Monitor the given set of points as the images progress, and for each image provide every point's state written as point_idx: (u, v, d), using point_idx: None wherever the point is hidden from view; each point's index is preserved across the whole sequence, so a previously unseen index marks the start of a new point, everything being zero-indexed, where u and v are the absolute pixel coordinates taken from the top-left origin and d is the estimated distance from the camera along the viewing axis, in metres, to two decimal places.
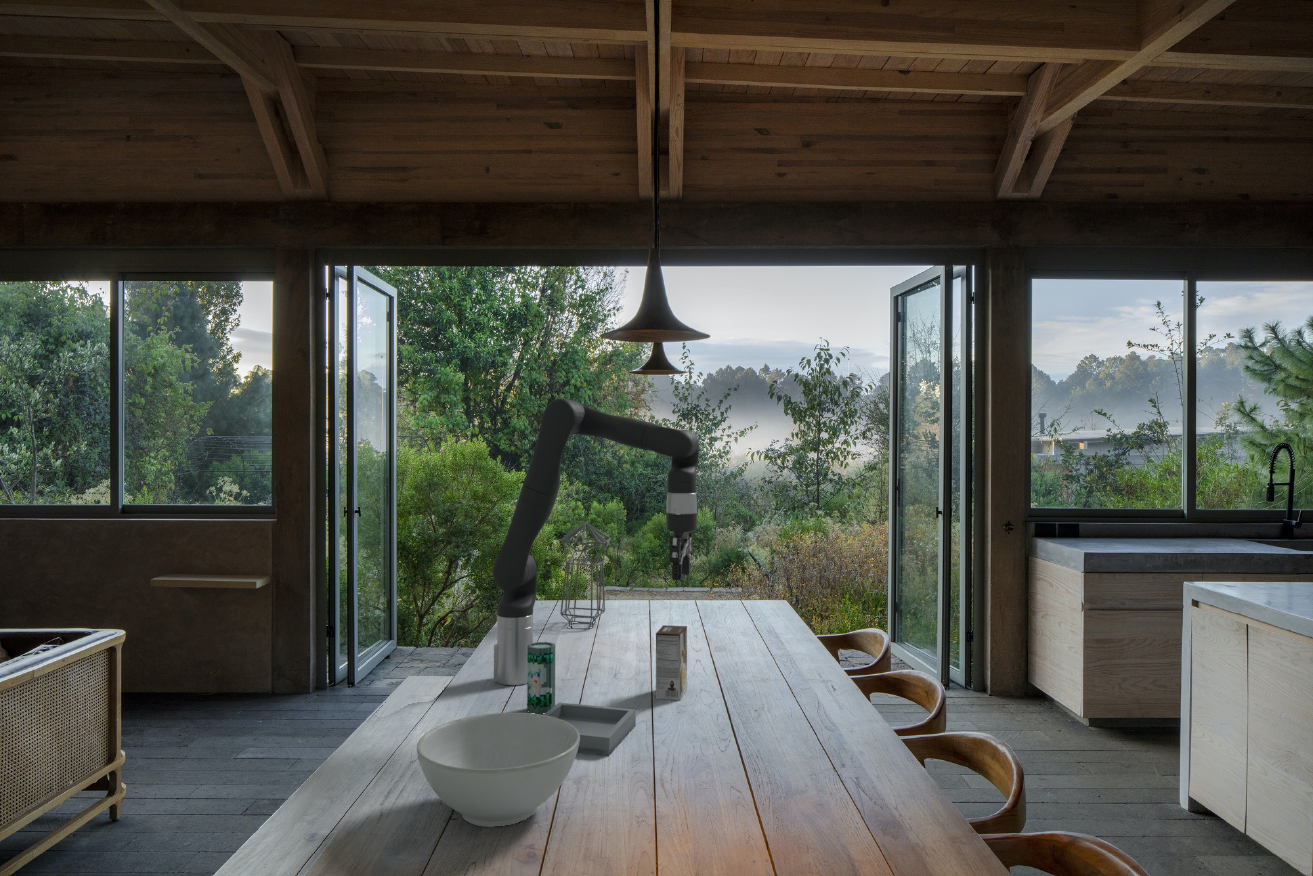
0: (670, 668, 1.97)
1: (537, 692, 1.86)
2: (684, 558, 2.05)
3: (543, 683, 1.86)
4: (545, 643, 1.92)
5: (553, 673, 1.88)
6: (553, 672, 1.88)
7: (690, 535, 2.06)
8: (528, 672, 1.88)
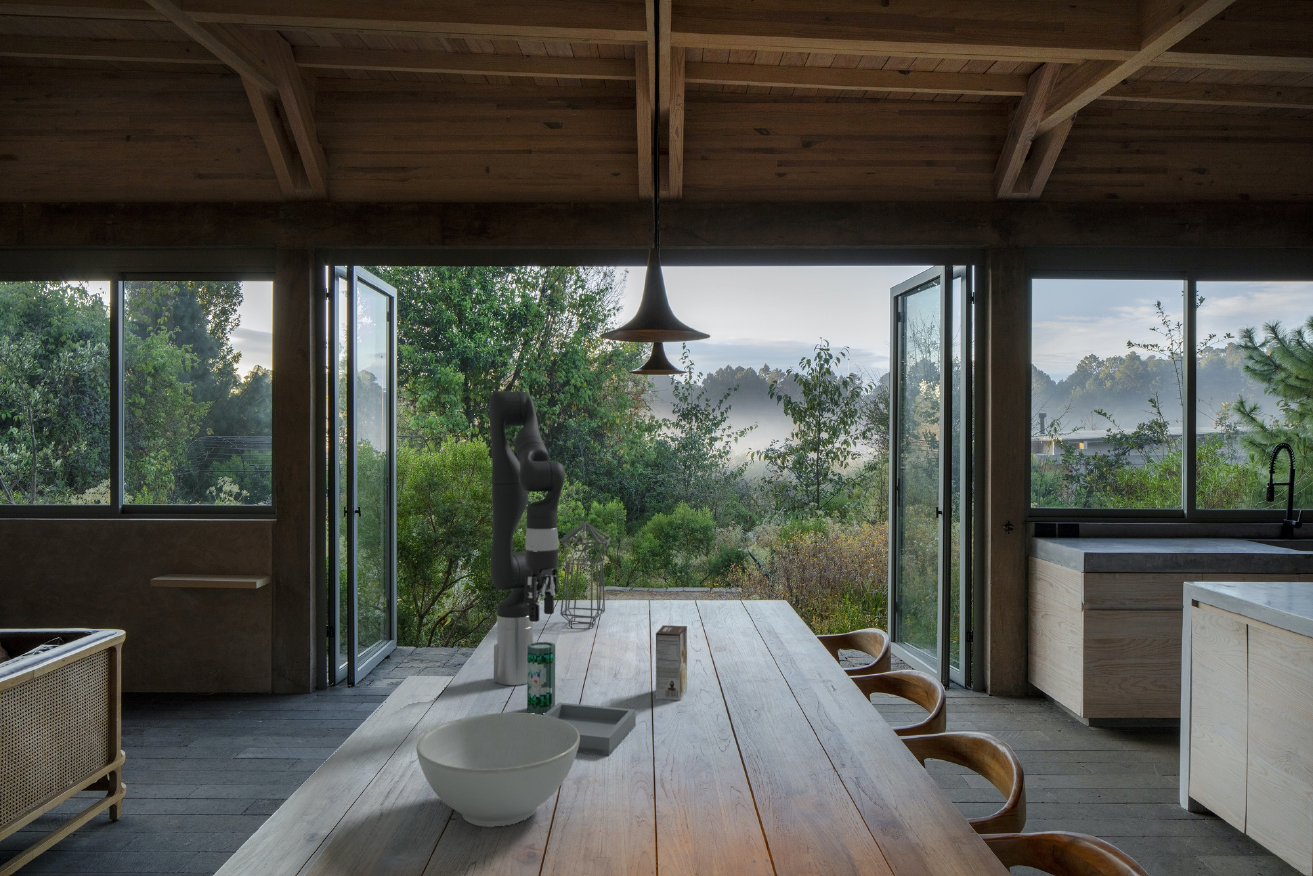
0: (670, 668, 1.97)
1: (537, 692, 1.86)
2: (548, 596, 1.93)
3: (543, 683, 1.86)
4: (545, 643, 1.92)
5: (553, 673, 1.88)
6: (553, 672, 1.88)
7: (555, 572, 1.95)
8: (528, 672, 1.88)
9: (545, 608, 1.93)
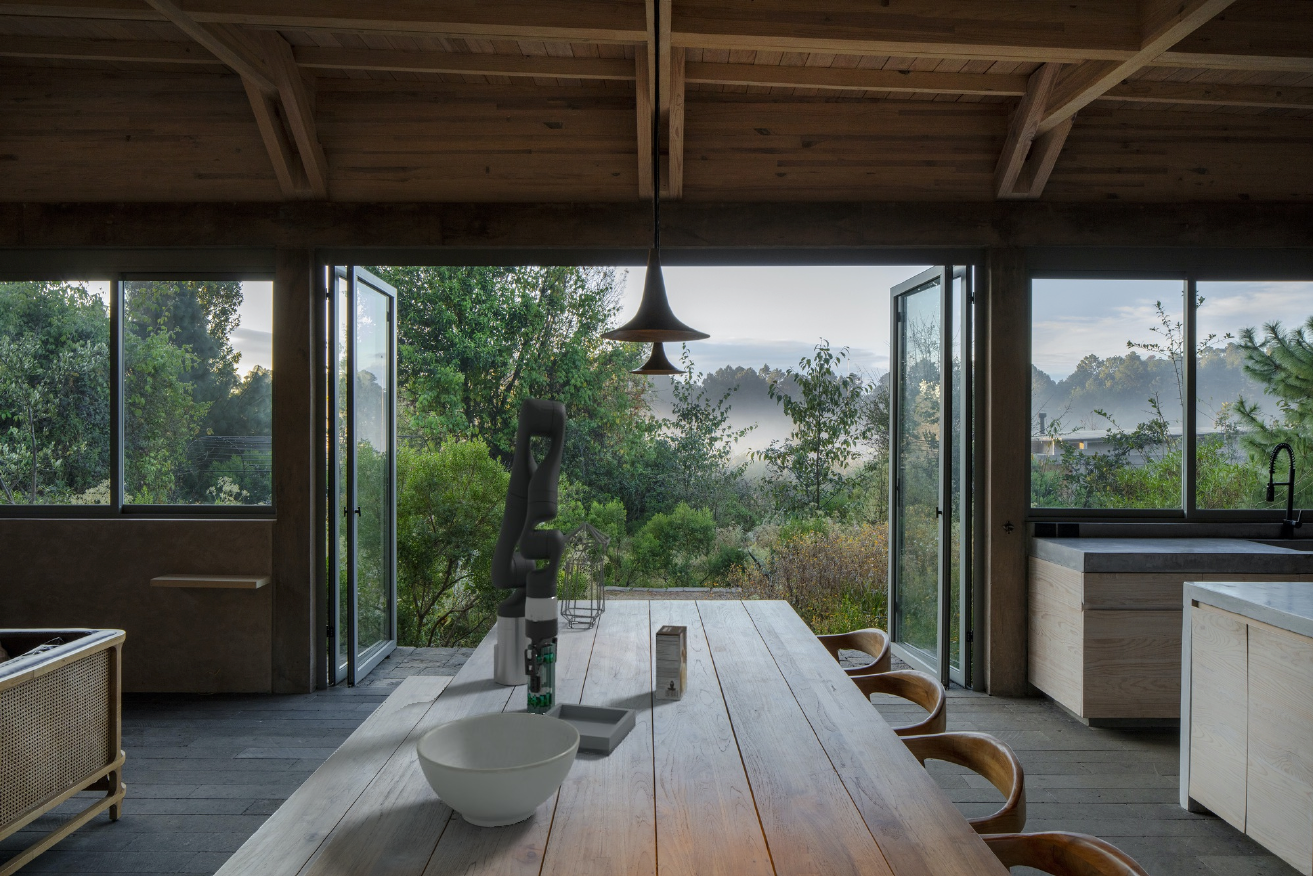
0: (670, 668, 1.97)
1: None
2: None
3: (543, 682, 1.86)
4: None
5: (553, 673, 1.88)
6: (553, 672, 1.88)
7: (554, 640, 1.94)
8: None
9: None
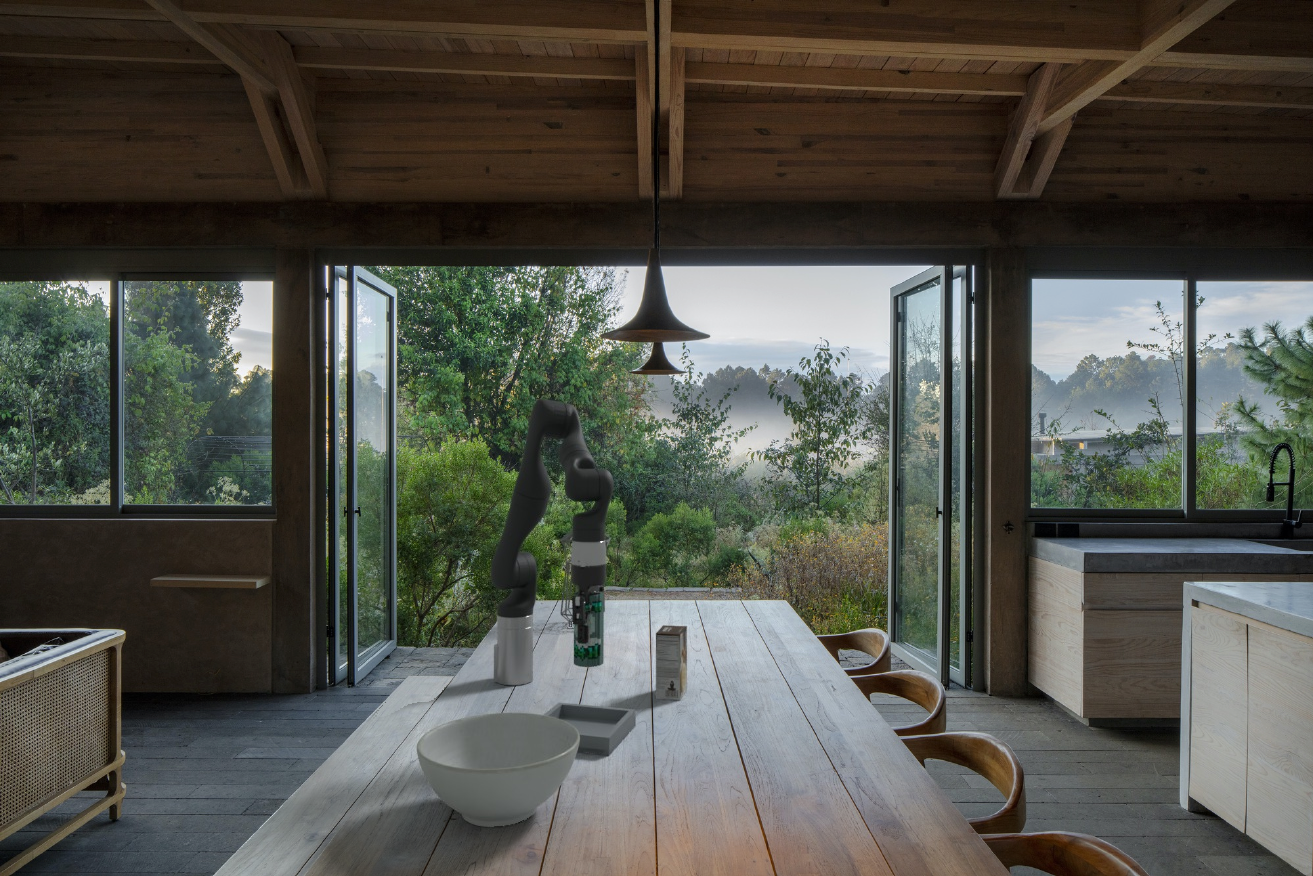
0: (670, 668, 1.97)
1: None
2: None
3: (592, 633, 1.73)
4: None
5: (602, 623, 1.75)
6: (602, 622, 1.75)
7: (601, 589, 1.81)
8: None
9: None
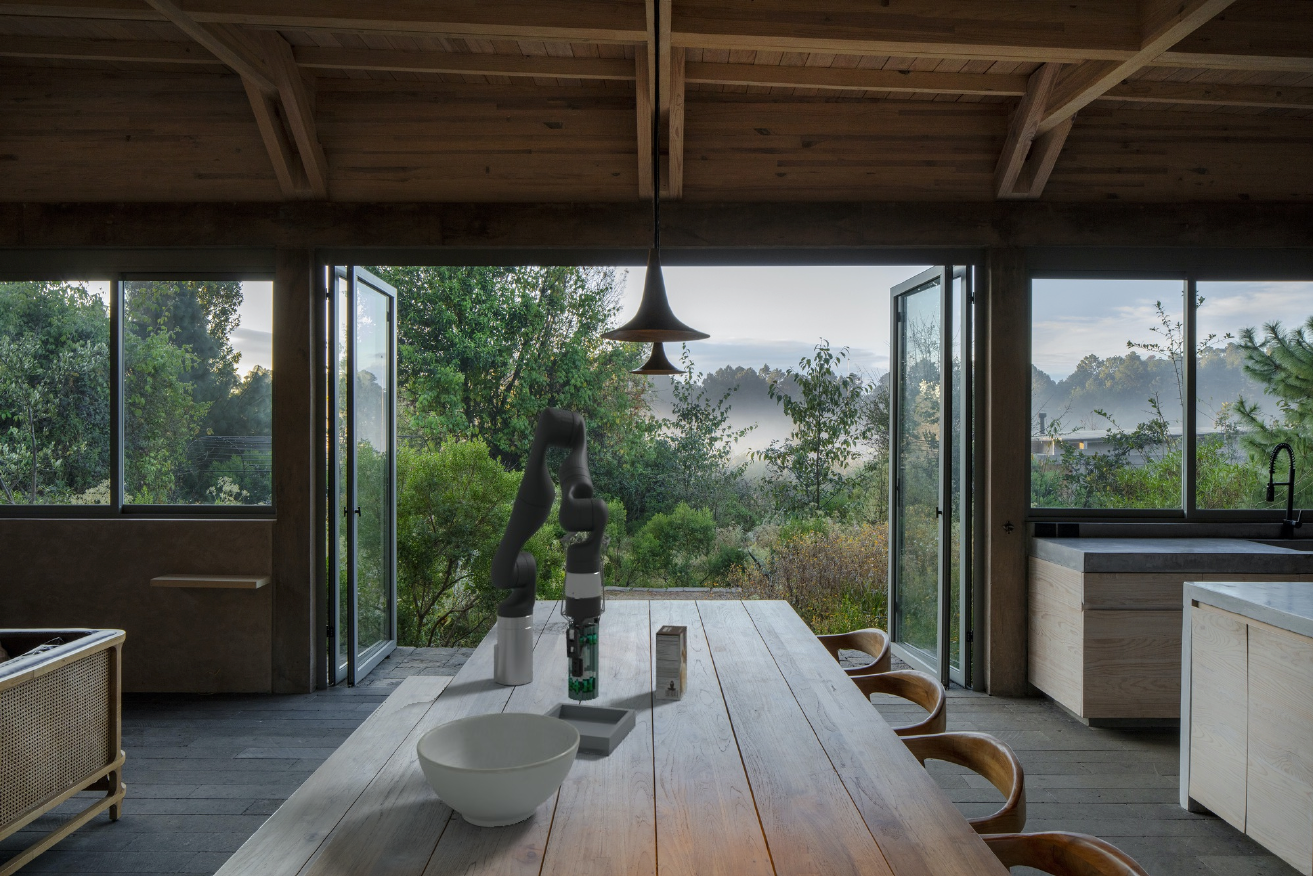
0: (670, 668, 1.97)
1: None
2: None
3: (586, 666, 1.70)
4: None
5: (597, 655, 1.72)
6: (597, 654, 1.72)
7: (596, 620, 1.78)
8: None
9: None
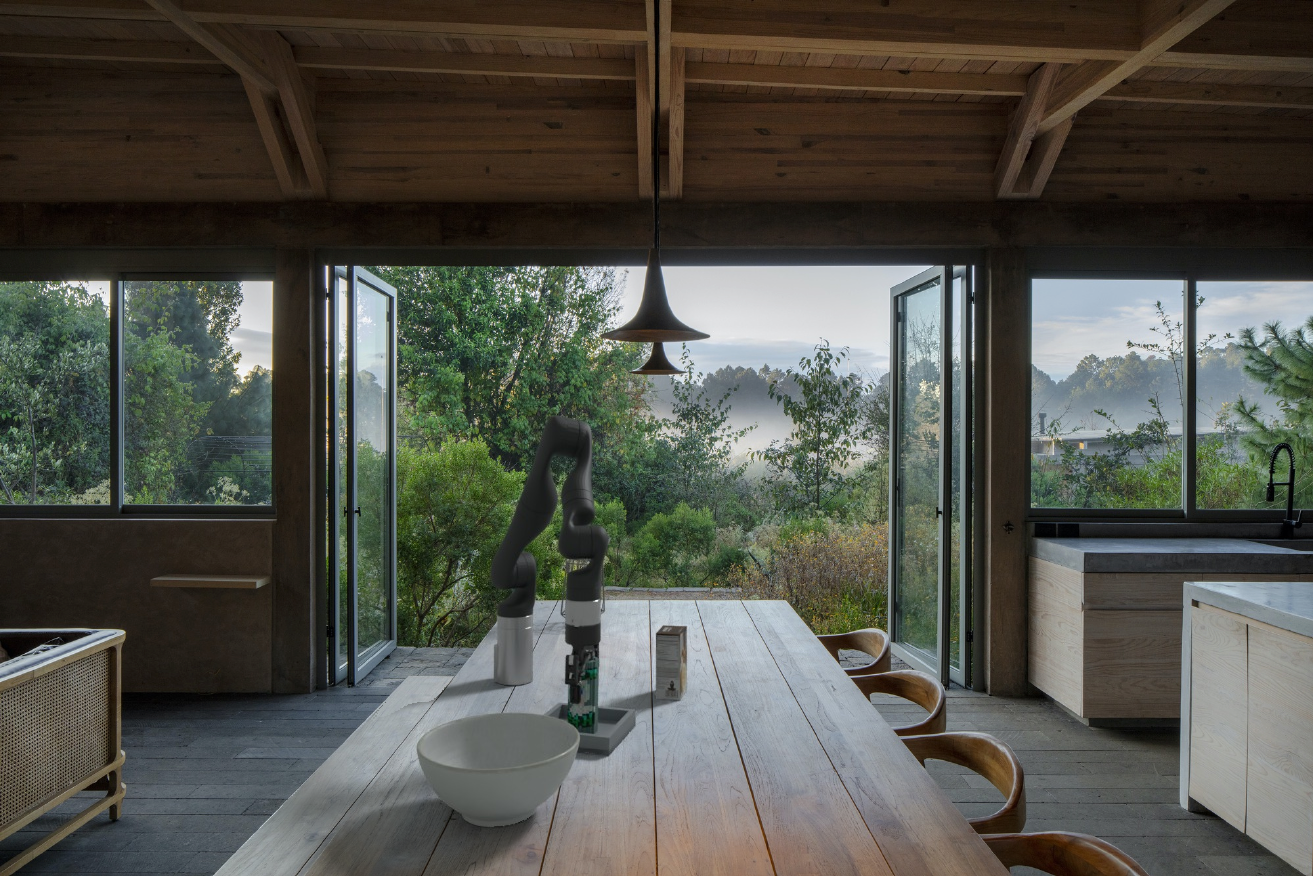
0: (670, 668, 1.97)
1: (579, 711, 1.70)
2: None
3: (586, 700, 1.70)
4: None
5: (596, 690, 1.72)
6: (596, 689, 1.72)
7: (596, 645, 1.78)
8: (569, 689, 1.71)
9: None
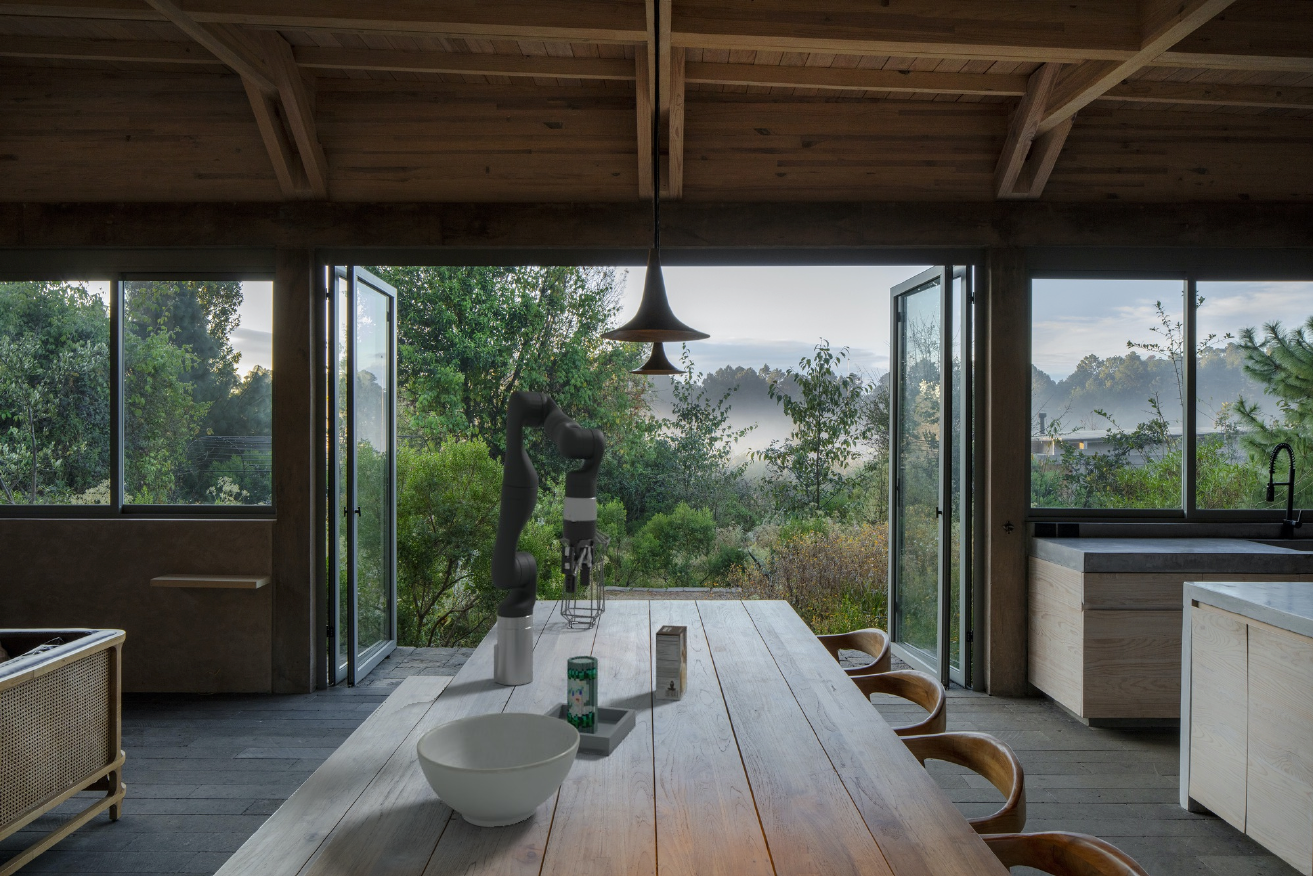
0: (670, 668, 1.97)
1: (579, 711, 1.70)
2: (584, 568, 1.88)
3: (586, 701, 1.70)
4: (586, 657, 1.75)
5: (596, 690, 1.72)
6: (596, 689, 1.72)
7: (592, 543, 1.89)
8: (568, 689, 1.71)
9: (581, 580, 1.88)
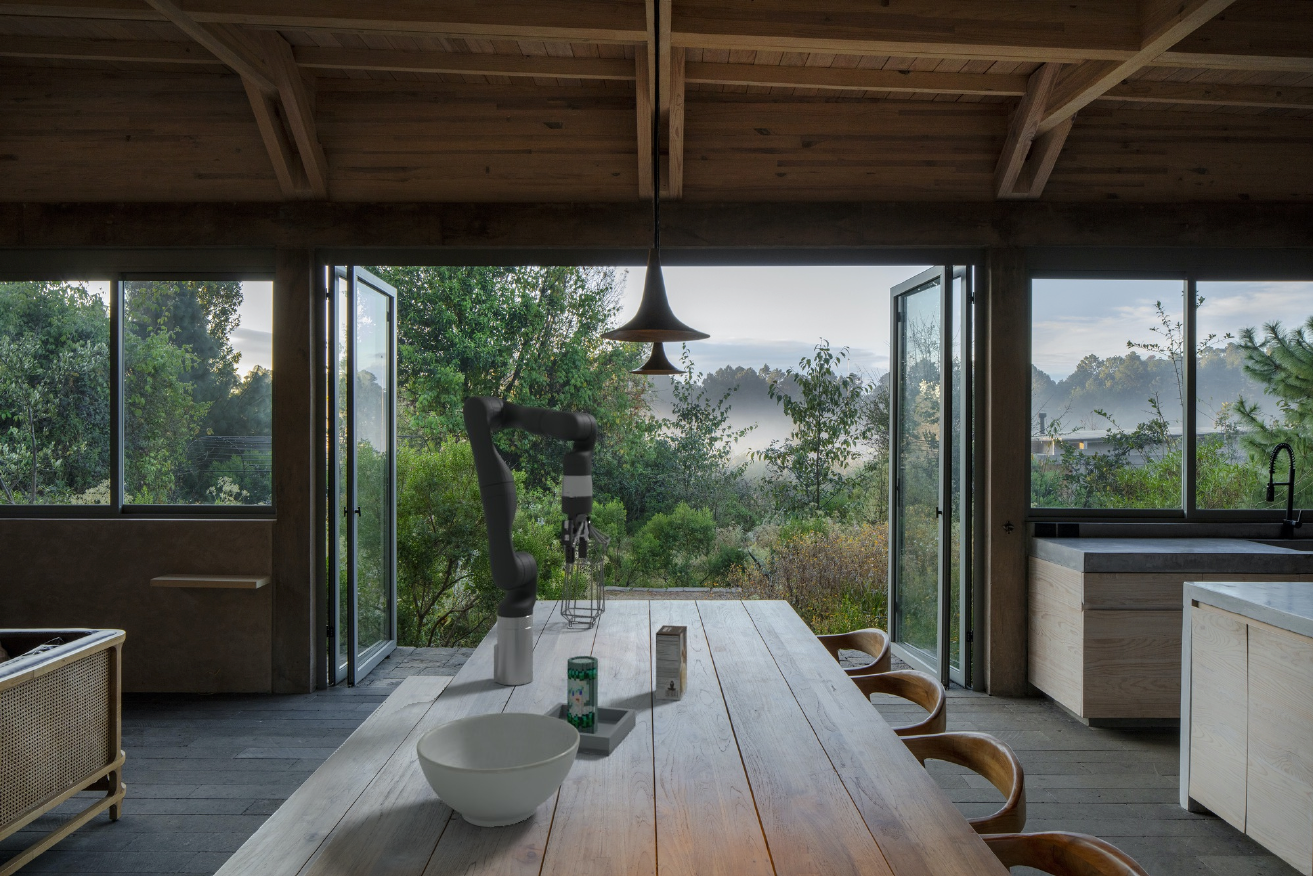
0: (670, 668, 1.97)
1: (579, 711, 1.70)
2: (582, 542, 2.04)
3: (586, 701, 1.70)
4: (586, 657, 1.75)
5: (596, 690, 1.72)
6: (596, 689, 1.72)
7: (588, 519, 2.05)
8: (568, 689, 1.71)
9: (579, 553, 2.04)
